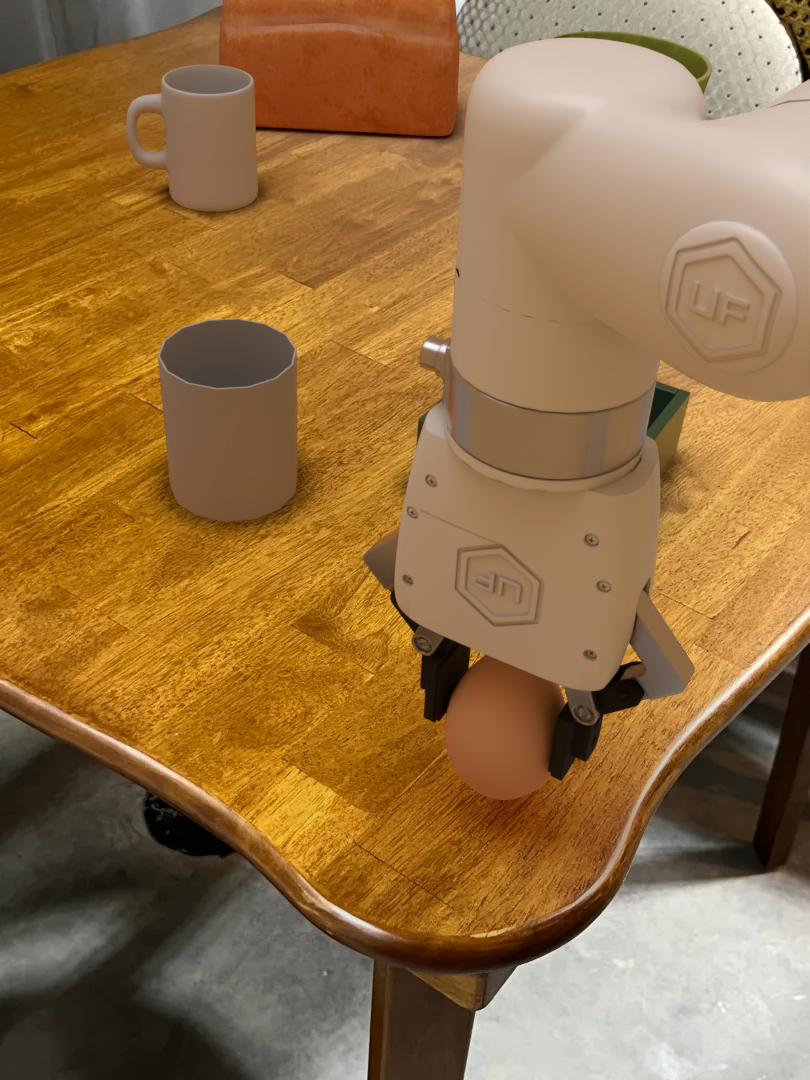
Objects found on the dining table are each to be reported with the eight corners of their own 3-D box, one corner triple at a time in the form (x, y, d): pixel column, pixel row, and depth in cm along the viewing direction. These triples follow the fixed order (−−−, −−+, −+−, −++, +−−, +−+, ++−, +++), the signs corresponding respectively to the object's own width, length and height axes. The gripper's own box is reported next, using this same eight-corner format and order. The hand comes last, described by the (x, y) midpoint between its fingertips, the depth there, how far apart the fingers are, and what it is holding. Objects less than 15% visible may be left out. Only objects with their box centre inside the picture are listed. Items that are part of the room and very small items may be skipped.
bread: (230, 87, 136) (223, -61, 125) (452, 99, 136) (464, -47, 126) (215, 130, 125) (207, -27, 115) (456, 143, 126) (469, -12, 116)
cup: (145, 482, 77) (130, 350, 70) (236, 432, 82) (230, 305, 75) (232, 539, 73) (225, 405, 66) (323, 483, 78) (324, 353, 71)
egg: (455, 838, 54) (466, 716, 49) (429, 745, 58) (437, 624, 53) (572, 820, 55) (596, 699, 50) (538, 730, 59) (557, 610, 54)
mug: (257, 176, 116) (253, 64, 109) (259, 212, 110) (256, 95, 103) (135, 177, 114) (123, 62, 107) (130, 213, 108) (118, 94, 101)
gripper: (299, 379, 44) (308, 707, 55) (741, 533, 37) (648, 869, 48) (400, 302, 49) (390, 617, 60) (804, 426, 42) (707, 752, 54)
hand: (505, 727), depth 54 cm, fingers closed on egg, 5 cm apart
